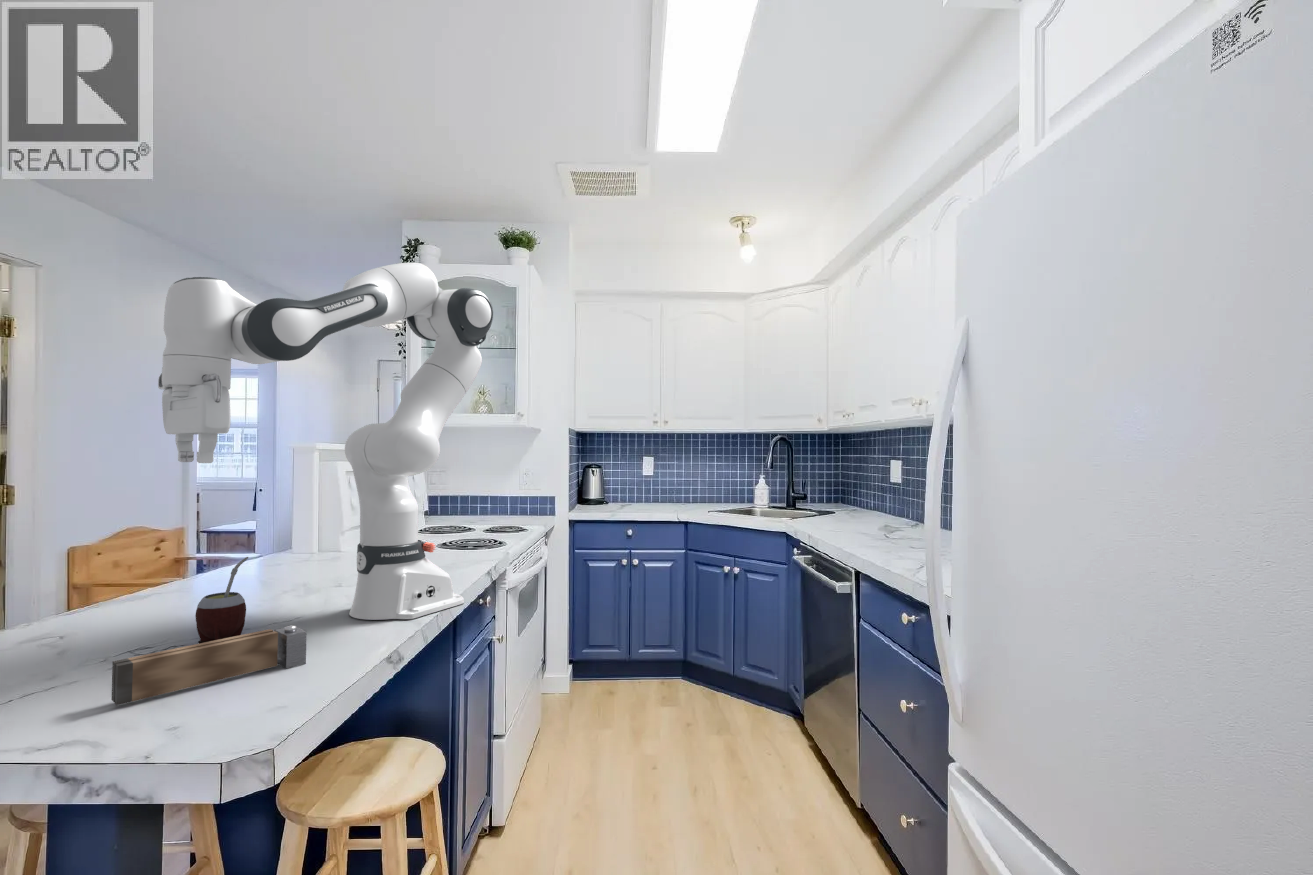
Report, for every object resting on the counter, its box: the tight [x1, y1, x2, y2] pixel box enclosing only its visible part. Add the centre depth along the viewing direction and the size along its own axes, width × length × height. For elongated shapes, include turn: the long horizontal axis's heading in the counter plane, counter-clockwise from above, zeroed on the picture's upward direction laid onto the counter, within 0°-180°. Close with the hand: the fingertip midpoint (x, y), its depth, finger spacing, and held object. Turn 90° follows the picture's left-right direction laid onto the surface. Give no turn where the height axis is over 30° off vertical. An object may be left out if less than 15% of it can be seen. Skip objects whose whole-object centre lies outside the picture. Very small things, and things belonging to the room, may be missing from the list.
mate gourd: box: [194, 556, 249, 644], centre depth 105 cm, size 8×8×15 cm
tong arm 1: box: [110, 628, 274, 703], centre depth 86 cm, size 18×1×5 cm, turn 143°
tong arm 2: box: [113, 630, 278, 706], centre depth 85 cm, size 18×1×5 cm, turn 142°
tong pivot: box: [273, 624, 307, 670], centre depth 95 cm, size 3×5×6 cm, turn 52°
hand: (195, 462), depth 97 cm, fingers open, 8 cm apart
